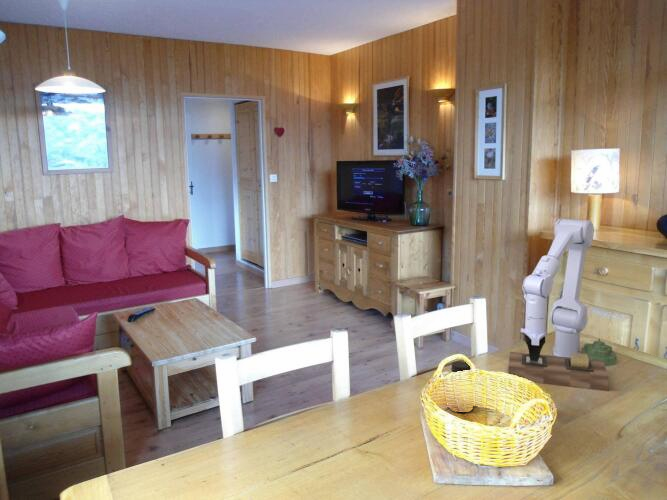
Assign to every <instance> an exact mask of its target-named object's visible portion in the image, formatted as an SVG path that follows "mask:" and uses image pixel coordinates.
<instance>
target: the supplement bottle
mask: <svg viewBox="0 0 667 500" xmlns="http://www.w3.org/2000/svg"><path fill="white" fill-rule="evenodd" d="M466 362H467V361H464V360H458V361H453V362H452V363H451V368H450V371H451V372H457V371H463V370H470V369H471V370H472V368H470V366H469V365H468V364H467V363H466Z"/></svg>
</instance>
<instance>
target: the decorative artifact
mask: <svg viewBox="0 0 667 500" xmlns="http://www.w3.org/2000/svg"><path fill="white" fill-rule="evenodd" d="M583 346H584V347H582V348H581V349H580V354H587V355H588V359H589V360H600V361H603V362H604V365H605V367H612V366H614V365H616V364H617V353H616V352H615V351H614V350H613V347H612V346H611V345H609V344H606V343H605V342H604V341H602V340H601V339H600V338H598V340H595V341H593V343H592V342H591V343H589V342H587V343H585V344H584V345H583Z"/></svg>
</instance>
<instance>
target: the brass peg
mask: <svg viewBox="0 0 667 500" xmlns="http://www.w3.org/2000/svg"><path fill="white" fill-rule="evenodd" d="M588 364H589V359H588V355H587V354H581V352H580V353H570V365H569V366H570V367H576V368H586V369H588Z"/></svg>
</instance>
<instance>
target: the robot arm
mask: <svg viewBox="0 0 667 500" xmlns="http://www.w3.org/2000/svg"><path fill="white" fill-rule="evenodd" d="M553 233H554V239H553V242H552V244H551V245H550V248H549V250H548V252H547V254H546V255H543V256H541V257H540V259H539V261H538V263H537V264H536V266H535V268H534V270H533V271H532V273H531V274H529V275H528V276H526V277H524V279H523V282H522V285H521V286H522V287H521V289H522V292H523V298H524V300H525V316H524V320H525V321H524V328H520V333H523V334H524V341H525V344H526V346H527V348H528V354H529V357H530V360H531V361H538V360H539V356H540V355H541V351H542V349H543V346H544V345H545V344H546V335H547V317H548V316H547V315H548V314H547V312H548V310H547V309H548V297H549V296H550V295H551V292H552V290H553V286H554V278H555V276H556V275H557V273H558V271H559V269H560V267H561V263H560V260H561V258H562V257H563V256H564V254H565V253H566V251H567V249H568V254H567V261H566V268H565V275H564V281H563V282H564V283H563V288H562V296H561V298H559V299H557V300H556V301H554V302H553V303H552V304H553V305H552V308H551V310H550V313H549V321H550V323H551V324H552V325H553V329H555V332H554V333H555V335H554V338H555V339H554V346H552V354H553V355H552V356H558V357H569V358H570V353H580V354H581V351H580V343H581V342H580V341H581V340H580V339H581V332H582V331H584V330H585V329H586V327H587V324H588V320H589V319H588V307H587V306H586V305H585V303H583V301H581V300H580V296H581V289H582V282H583V276H584V268H585V264H586V263H585V262H586V256H587V255H586V254H587V250H588V248H591V247H592V245H593V240H594V234H595V227H594V224H593V223H592V221H591V220H589V219H588V220H584V219H583V220H581V219H572V218H571V219H570V218H561V217H560V218H558V219H557V220H556V222H555V224H554V231H553Z"/></svg>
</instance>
